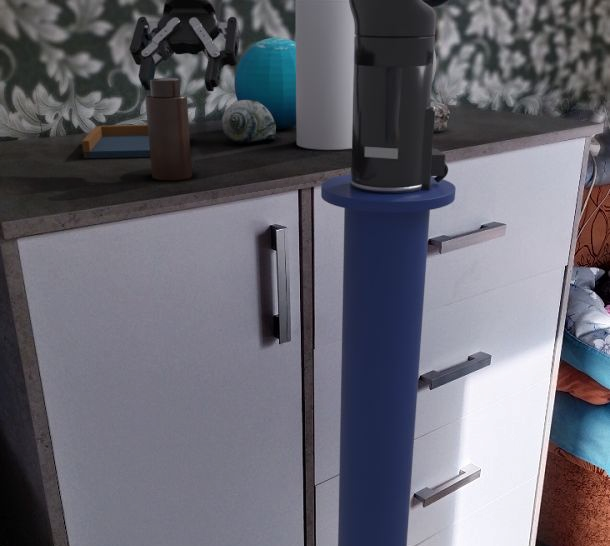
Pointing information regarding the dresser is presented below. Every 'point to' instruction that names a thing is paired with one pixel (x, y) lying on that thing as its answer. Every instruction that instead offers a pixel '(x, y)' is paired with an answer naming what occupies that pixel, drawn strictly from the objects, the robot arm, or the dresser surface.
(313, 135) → the tall pillar cylinder
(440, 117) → the stone
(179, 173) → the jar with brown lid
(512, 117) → the dresser surface
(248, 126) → the seashell
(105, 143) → the corner mat
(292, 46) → the decorative orb
